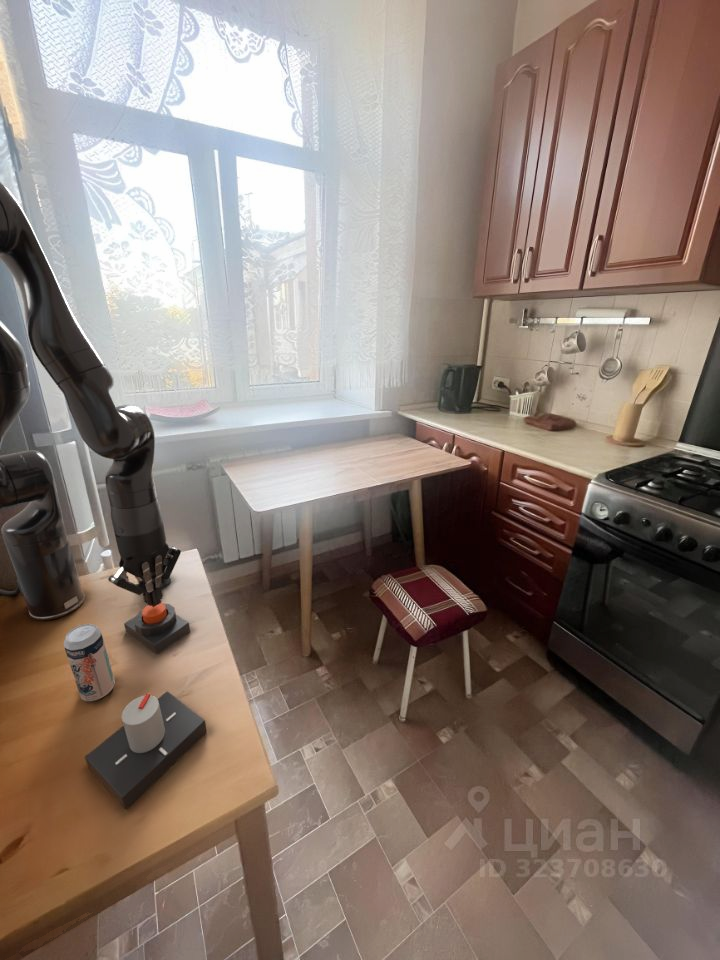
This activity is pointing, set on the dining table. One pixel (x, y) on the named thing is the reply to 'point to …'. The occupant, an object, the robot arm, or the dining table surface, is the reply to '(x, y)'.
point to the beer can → (89, 662)
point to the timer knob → (143, 723)
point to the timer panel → (145, 753)
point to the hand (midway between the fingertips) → (154, 603)
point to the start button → (154, 613)
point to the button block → (158, 630)
